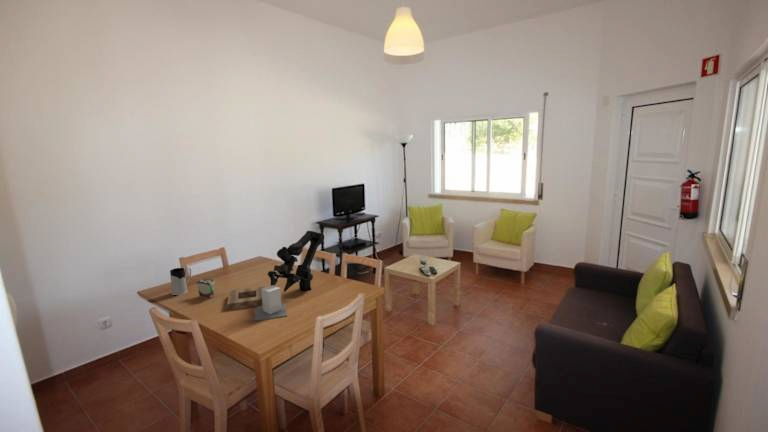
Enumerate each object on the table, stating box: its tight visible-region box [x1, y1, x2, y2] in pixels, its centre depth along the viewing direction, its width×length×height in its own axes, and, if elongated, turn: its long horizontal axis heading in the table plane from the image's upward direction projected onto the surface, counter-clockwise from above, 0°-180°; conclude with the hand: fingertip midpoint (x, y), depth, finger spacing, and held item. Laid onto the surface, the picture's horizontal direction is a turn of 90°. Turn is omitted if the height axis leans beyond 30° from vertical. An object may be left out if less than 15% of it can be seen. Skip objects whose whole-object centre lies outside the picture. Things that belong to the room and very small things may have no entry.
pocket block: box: [226, 285, 266, 311], centre depth 208 cm, size 20×20×4 cm
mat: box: [254, 302, 288, 322], centre depth 193 cm, size 16×16×1 cm
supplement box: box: [261, 285, 282, 314], centre depth 192 cm, size 7×7×13 cm
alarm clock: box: [196, 278, 216, 300], centre depth 214 cm, size 12×6×10 cm, turn 65°
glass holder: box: [169, 267, 192, 296], centre depth 221 cm, size 9×14×15 cm, turn 164°
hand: (277, 290), depth 199 cm, fingers open, 9 cm apart
